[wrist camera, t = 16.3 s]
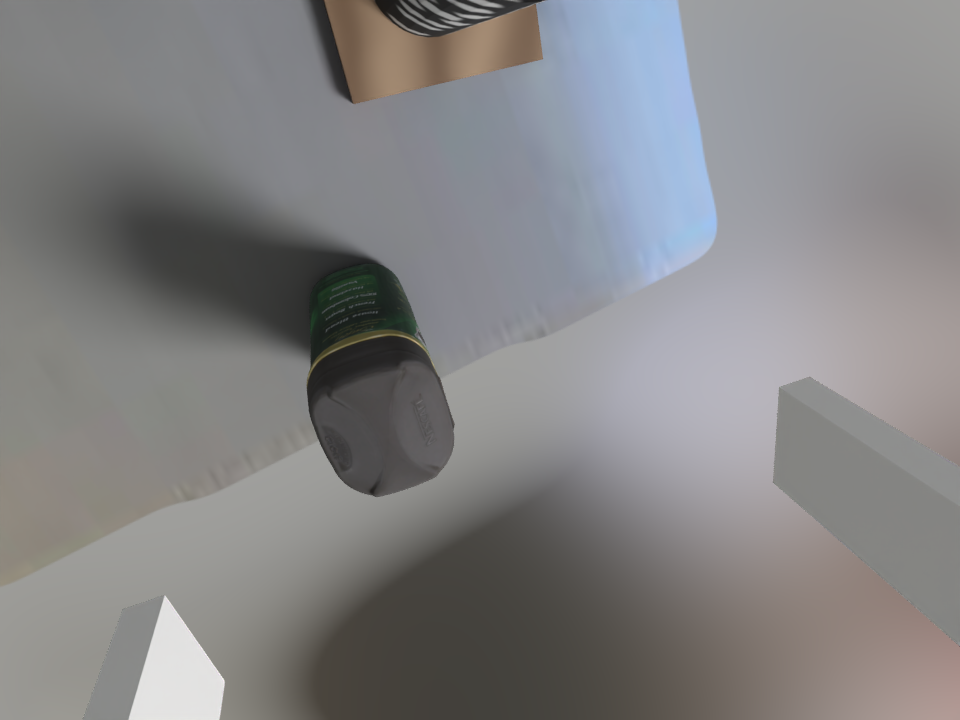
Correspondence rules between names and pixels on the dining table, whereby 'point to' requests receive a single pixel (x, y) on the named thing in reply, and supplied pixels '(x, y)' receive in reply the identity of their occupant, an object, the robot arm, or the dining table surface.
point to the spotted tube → (446, 14)
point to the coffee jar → (374, 384)
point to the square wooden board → (424, 49)
